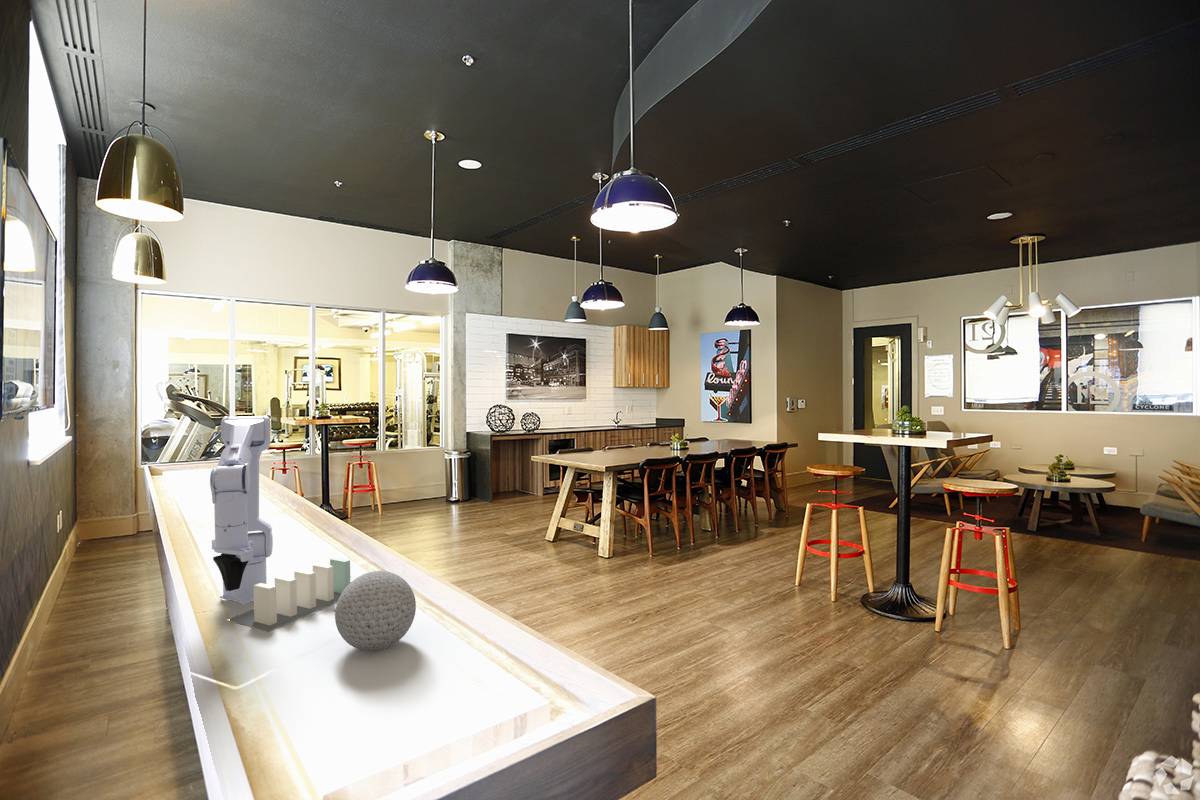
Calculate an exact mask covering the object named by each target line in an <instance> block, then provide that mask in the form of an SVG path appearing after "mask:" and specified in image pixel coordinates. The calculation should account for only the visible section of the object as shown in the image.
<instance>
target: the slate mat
mask: <svg viewBox="0 0 1200 800" xmlns="http://www.w3.org/2000/svg"><path fill="white" fill-rule="evenodd" d="M351 582H352V581H350V583H351ZM340 595H341V593H337V592H334V599H333V600H330V601H325V600H320V599H316V607H313V608H311V609H309V608H304V607H300V606H297V614H296V615H294V616H292V617H289V616H285V615H281V614H277V623H275V624H272V625H266V624H262V623H259V622H255V621H254V608H252V609H251V610H247V611H245V612H242V613H239V614H236V615H234V616H232V617H231V616H230V617H229V618H228V619H230V621H231V623H234V624H238V625H241V626H246V627H249V628H252V629H257V630H260V631H263V632H266V633H267V632H272V631H273V630H274V631H275V630H277V629H278V628H281V627H284V626H286V625H288V624H290V623H292V622H295V621H297V620H299V619H301V618H304V617H308V616H309V615H312V614H313V613H316V612H318V611H322V610H324V609H325V608H328V607H331V606H333V605H335V604H337V602H338V599H339V597H340ZM230 621H229V622H230Z"/></svg>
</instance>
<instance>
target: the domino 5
mask: <svg viewBox="0 0 1200 800" xmlns="http://www.w3.org/2000/svg"><path fill="white" fill-rule="evenodd" d="M329 565H330V566H333V582H334V592H337V593H342V592H343V590H344V589H345V588H346V587H347V585H348V584H349V583H350V582H351V560H350V559H347V558H346V559H344V558H341V557H336V556H335V557H333V558H330V560H329Z"/></svg>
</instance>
